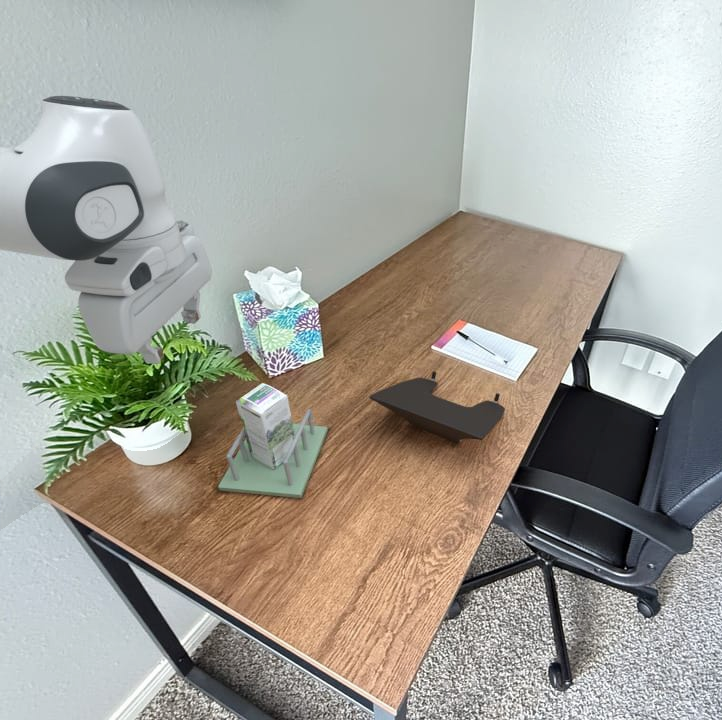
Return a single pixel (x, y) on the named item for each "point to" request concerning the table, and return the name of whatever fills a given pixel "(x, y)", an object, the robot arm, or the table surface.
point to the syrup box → (266, 424)
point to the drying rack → (288, 475)
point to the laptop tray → (439, 411)
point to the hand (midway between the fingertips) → (175, 339)
